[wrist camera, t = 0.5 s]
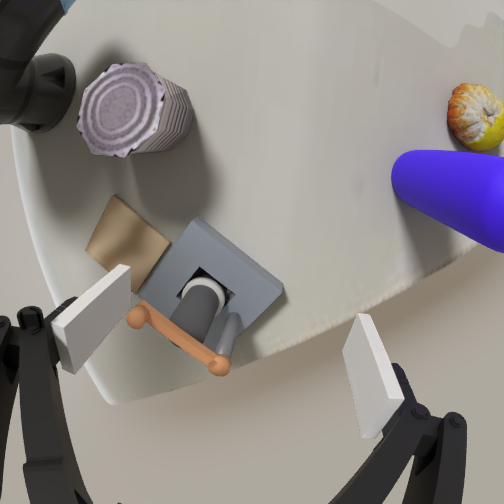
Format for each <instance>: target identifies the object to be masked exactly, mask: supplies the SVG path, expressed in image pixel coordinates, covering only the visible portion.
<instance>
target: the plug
mask: <svg viewBox="0 0 504 504" xmlns="http://www.w3.org/2000/svg"><path fill="white" fill-rule="evenodd" d="M224 293H225V286H224V285H223V284H221V283H220V282H219V281H218V280H216V279H215V278H214V277H212V276H211V275H210V274H209V273H207V272H205V273H202V274H200V275H199V276H197V278H195V279H193V280H191V281H190V282H189V283H188V284H187V285H186V287H185V288H184V290H183V292H182V300H181V301H180V303H179V304H178V306H177V307H176V309H175V310H174V312H173V313H172V315H171V317H170V318H169V320H170V321H171V322H173V323H174V324H175V325H177V326H178V327H179V328H181V329H182V330H183V331H185V332H186V333H187V334H189V335H190V336H192V337H193V338H194V339H196V340H197V341H198V342H200V343H201V344H203V343H204V340H205V338H206V336H207V333H208V331H209V328H210V326H211V324H212V321H213V319H214V317H215V316H217V315H218V314H219V313H220V312H221V310H222V308H223V306H224V303H225V294H224ZM169 340H170V339H169ZM170 341H171V340H170ZM171 342H172V341H171ZM172 343H173V344H174V345H175V346H177V347H179V346H178V345H176V344H175V343H174V342H172ZM179 348H181V347H179ZM181 349H182V348H181Z"/></svg>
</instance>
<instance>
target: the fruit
mask: <svg viewBox="0 0 504 504" xmlns="http://www.w3.org/2000/svg"><path fill="white" fill-rule="evenodd" d="M452 94H453V96H452V97H451V99H450V100H449V102H448V104H449V105H448V109H449V110H448V112H447V118H448V126H449V127H451V129H452V131H453V133H454V135H455V137H457V138H458V139H459V140H460V142H461V143H462V144H463V145H464V146H465V147H467V148H468V149H471V150H476V151H486V150H489V149H492V148H494V147H496V146H498V145H499V144H500V143H501V142H502V141H503V139H504V105H503V103H502V102H501V100H499V99H497V98H496V97H495V96H494V95H493V94H492V92H491V91H490V90H489V89H488V88H486V87H484V86H482V85H473V84H468V83H465V84H463V83H462V84H461V85H460V86H458V87H456V88H455V89H454V90H453V92H452Z"/></svg>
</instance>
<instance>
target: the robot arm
mask: <svg viewBox="0 0 504 504" xmlns="http://www.w3.org/2000/svg"><path fill="white" fill-rule="evenodd" d="M75 1H76V0H0V125H1V124H11V125H14V126H16V127H18V128H20V129H22V130H24V131H27V132H30V133H41V132H46V131H48V130H50V129H52V128H53V127H54V126H55V125H56V124H57V123H58V122H59V121H60V120H61V119H62V117H63V116H64V114H65V113H66V111H67V109H68V107H69V105H70V102H71V99H72V96H73V93H74V87H75V71H74V67H73V65H72V63H71V61H70V60H69V59H68V58H67V57H65V56H62V55H59V54H53V53H50V54H44V55H39V56H34V55H35V53H36V52H37V50H38V49H39V47H40V46H41V45H42V43H43V42H44V40H45V39H46V38H47V36H48V35H49V33H50V32H51V31H52V29H53V28H54V27H55V26H56V24H57V23H58V22H59V21H60V19H61V18H62V17H63V16H65V15H66V14H67V12H68V10H69V8H70V7H71V6H72V5H73V3H74V2H75ZM33 56H34V57H33ZM130 308H131V267H130V266H126V265H122V264H119V265H118V266H117V267H115V268H114V269H113V270H112V271H110V272H109V273H108V274H107V275H105V276H104V277H103V278H102V279H100V280H99V281H98V282H97V283H96V284H94V285H93V286H92V287H91V288H90V289H88V290H87V291H86V292H85V293H84V294H83V295H81V296H80V297H79V298H78V297H72V298H70V299H68V300H66V301H65V302H64V303H62V304H61V306H59V307H58V308H56V310H54V311H53V312H52V313H51V314H49V315H48V316H47V317H46V318H45V319H44V318H43V313H42V310H41V309H40V308H39V307H36V306H28V307H24V308H22V309H21V310H20V311H19V312H18V313H17V319H18V322H19V326H20V327H14V326H11V322H10V319H9V318H8V317H6V316H0V498H1V493H2V482H3V469H4V458H5V450H6V443H7V436H8V430H9V424H10V419H11V414H12V409H13V404H14V400H15V396H16V392H17V388H18V383H19V389H20V409H21V421H22V431H23V439H24V446H25V453H26V459H27V461H26V463H25V464H23V473H24V478H25V483H26V487H27V492H28V496H29V500H30V504H93V502H92V500H91V498H90V496H89V495H88V492H87V490H86V488H85V485H84V482H83V480H82V477H81V474H80V470H79V467H78V464H77V461H76V457H75V454H74V451H73V447H72V443H71V439H70V435H69V432H68V427H67V423H66V418H65V414H64V409H63V403H62V398H61V392H60V386H59V379H58V371H57V368H56V364H57V363H58V362H59V361H60V362H61V365H62V369H64V370H66V371H68V372H70V373H72V374H74V375H75V374H76V373H77V372H78V370H79V369H80V368H81V367H82V365H83V364H84V363H85V362H86V360H87V359H88V358H89V357H90V356H91V354H92V353H93V352H94V351H95V349H96V348H97V347H98V346H99V345H100V343H101V342H102V341H103V340H104V339H105V337H106V336H107V335H108V334H109V333H110V331H111V330H112V329H113V328H114V327H115V325H116V324H117V323H118V322H119V321H120V320H121V318H122V317H123V316H124V315H125V314H126V313H127V311H128V310H129V309H130ZM342 352H343V356H344V360H345V364H346V369H347V373H348V377H349V382H350V386H351V391H352V395H353V400H354V405H355V410H356V414H357V420H358V425H359V430H360V435H361V438H376V437H377V436H378V435H379V433H380V432H381V431H382V432H383V438H382V440H381V441H380V442H379V443H378V444H377V446H376V447H375V448H374V449H373V452H372V453H371V455H370V456H369V457H368V458H367V460H366V461H365V462H364V463H363V465H362V466H361V467H360V468H359V470H358V471H357V472H356V473H355V475H354V476H353V477H352V478H351V479H350V480H349V482H348V483H347V484H346V485H345V486H344V487H343V488H342V490H341V491H340V492H339V493H338V494H337V495H336V496H335V497H334V498H333V499H332V501H330V503H329V504H382V503H383V501H384V500H385V498H386V497H387V495H388V494H389V493H390V491H391V490H392V488H393V487H394V485H395V483H396V482H397V480H398V479H399V477H400V475H401V474H402V472H403V470H404V469H405V467H406V465H407V463H408V462H409V460H410V458H411V456H412V455H414V461H413V466H412V470H411V473H410V477H409V481H408V485H407V489H406V492H405V495H404V499H403V502H402V504H461V503H462V496H463V488H464V478H465V467H466V448H467V424H466V420H465V419H464V417H462V416H461V415H460V414H458V413H456V412H449V413H447V414H446V415H445V417H444V418H438V417H435V416H431V415H430V412H429V410H428V409H427V408H426V407H425V406H423V405H422V404H419V403H417V401H416V399H415V396H414V394H413V391H412V389H411V387H410V385H409V382H408V379H406V375H405V373H404V370H403V369H402V368H401V367H400V366H399V365H398V364H397V363H390V361H389V358H388V356H387V353H386V351H385V349H384V346H383V344H382V342H381V339H380V337H379V335H378V332H377V330H376V328H375V326H374V323H373V321H372V319H371V317H370V315H368V314H361V313H357V316H356V319H355V321H354V324H353V326H352V329H351V331H350V334H349V336H348V339H347V341H346V343H345V346H344V348H343V350H342ZM118 504H121V503H118Z"/></svg>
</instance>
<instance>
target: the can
mask: <svg viewBox="0 0 504 504" xmlns="http://www.w3.org/2000/svg"><path fill="white" fill-rule="evenodd" d="M193 113H194V109H193V107H192V104H191V101H190V99H189V96H188V94H187V91H186V90H185V89H183V88H181V87H180V86H178V85H176V84H174V83H172V82H171V81H169V80H167V79H165V78H163V77H161V76H159V75H157V74H155V73H153V71H152V70H151V69H150V67H149V66H148V64H147V63H123V64H112V65H111V66H110V67H108V68H107V69H106V70H105V71H104V72H103V73H102V74H101V75H100V76H98V77H97V78H96V79H95V80H94V81H93V82H92V83H91V84H90V85H89V86H88V87H87V88H86V89H85V90H84V94H83V98H82V102H81V106H80V111H79V115H78V120H77V125H76V127H77V128H78V130H79V132H80V134H81V136H82V137H83V139H84V141H85V143H86V144H87V146H88V148H89V150H90V151H91V153H92V154H95V155H106V156H116V157H126V156H127V155H128V154H136V153H151V152H158V151H166V150H171V149H172V148H173V147H174V146H175V145H176V144H177V143H178V142H179V141H180V140H182V139H183V138H184V137H185V136H186V135H187V134H188V131H189V128H190V124H191V120H192V116H193Z"/></svg>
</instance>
